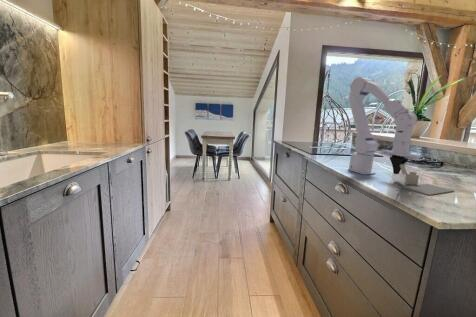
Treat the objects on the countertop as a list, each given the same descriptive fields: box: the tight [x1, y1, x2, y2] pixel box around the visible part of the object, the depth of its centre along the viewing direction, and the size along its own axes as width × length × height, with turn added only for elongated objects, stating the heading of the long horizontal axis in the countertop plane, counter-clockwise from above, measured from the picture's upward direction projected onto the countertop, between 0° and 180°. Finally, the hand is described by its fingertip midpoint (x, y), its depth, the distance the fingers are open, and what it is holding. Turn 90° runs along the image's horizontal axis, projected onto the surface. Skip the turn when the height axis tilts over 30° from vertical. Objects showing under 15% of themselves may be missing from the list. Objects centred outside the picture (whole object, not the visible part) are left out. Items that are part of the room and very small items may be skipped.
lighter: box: [399, 164, 420, 186], centre depth 97 cm, size 7×2×8 cm, turn 68°
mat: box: [402, 183, 455, 196], centre depth 91 cm, size 9×16×1 cm, turn 114°
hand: (396, 173), depth 102 cm, fingers closed
